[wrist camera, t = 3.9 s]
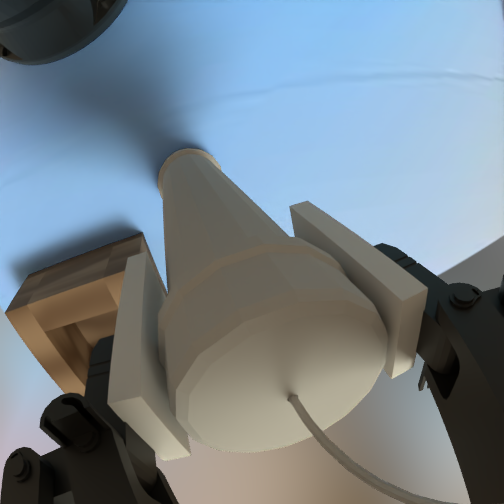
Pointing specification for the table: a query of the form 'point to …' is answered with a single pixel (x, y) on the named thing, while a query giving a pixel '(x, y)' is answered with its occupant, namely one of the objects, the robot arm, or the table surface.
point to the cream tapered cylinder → (258, 324)
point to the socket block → (73, 309)
